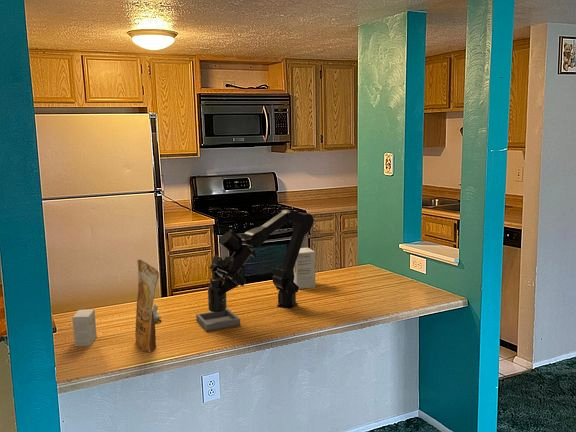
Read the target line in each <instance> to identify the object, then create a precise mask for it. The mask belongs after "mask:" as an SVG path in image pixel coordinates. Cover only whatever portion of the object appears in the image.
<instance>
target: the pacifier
mask: <svg viewBox="0 0 576 432" xmlns="http://www.w3.org/2000/svg"><path fill="white" fill-rule="evenodd" d="M158 309H159V308H158V304H156V303H155V304H154V303H153V307H152V310H153V314H154V321H155V322H158V321H159V319H161V318H162V316H160V313H158V312H157V311H158Z"/></svg>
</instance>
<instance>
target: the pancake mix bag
mask: <svg viewBox="0 0 576 432" xmlns="http://www.w3.org/2000/svg"><path fill="white" fill-rule="evenodd" d="M136 261H137V272H138V273H137V275H138V276H137V297H136V310H135V311H136V312H135V313H136V314H135V330H134V331H135V332H134V333H135V335H134V336H135V340H136V342H137V344H138V346H139V347H140V349H141V351H143V352H149V353H152V352H154V351H155V350H156V347H157V346H156V345H157V344H156V343H157V342H156V341H157V340H156V339H157V336H156V333H157V331H156V323H155V322H156V321H154V314H153V306H154V300H155V299H154V298H155V292H156V288H157V283H158V280H159V275H160V273H159V271H158V270H157V269H156V268H155V267H153V266H151V265H150V264H149V263H147V262H146V261H144V260H142V259H137V260H136Z"/></svg>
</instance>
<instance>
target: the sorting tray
mask: <svg viewBox="0 0 576 432" xmlns="http://www.w3.org/2000/svg"><path fill="white" fill-rule="evenodd" d="M195 315H196V316H195V317H196V318H195V320H196V322H197V323H198V324H199V326H201V327H202V328H203V329H204V331H205V332H211V331H216V330H222V329H229V328H234V327H238V326H239V327H240V326H241V318H240V317H239V316H238V315H236V314H235V313H234V312H233V311H232V310H231V309H229V308H226V310H225V311H222V312H211V311H209V312H208V311H207V312H201V313H196V314H195Z"/></svg>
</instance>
